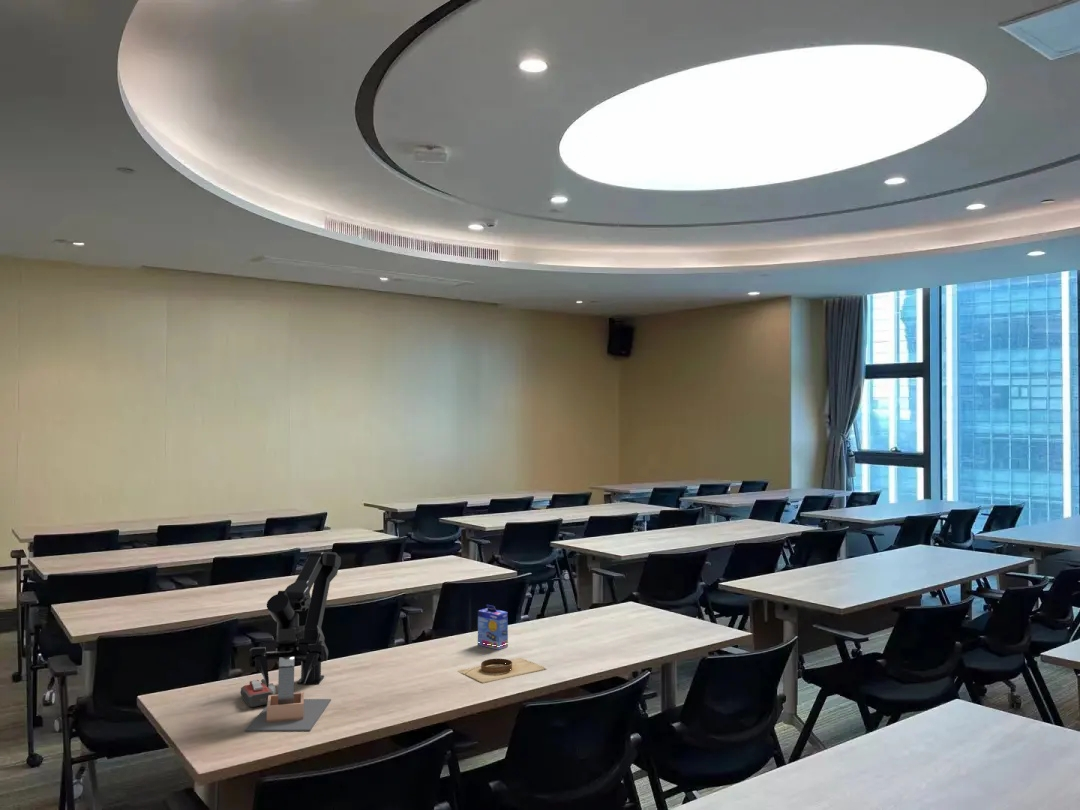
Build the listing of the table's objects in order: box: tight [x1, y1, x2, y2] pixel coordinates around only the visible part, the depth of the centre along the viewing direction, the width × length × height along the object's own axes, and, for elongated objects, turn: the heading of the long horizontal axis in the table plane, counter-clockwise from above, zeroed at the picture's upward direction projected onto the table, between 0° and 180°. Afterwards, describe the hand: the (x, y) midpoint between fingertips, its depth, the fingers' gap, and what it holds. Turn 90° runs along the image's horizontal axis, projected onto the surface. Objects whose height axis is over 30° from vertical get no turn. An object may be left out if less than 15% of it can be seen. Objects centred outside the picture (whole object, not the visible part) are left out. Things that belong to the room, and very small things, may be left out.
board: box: [457, 657, 547, 684], centre depth 242 cm, size 25×15×3 cm, turn 127°
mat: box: [244, 698, 332, 732], centre depth 202 cm, size 22×16×1 cm
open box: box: [266, 691, 305, 723], centre depth 201 cm, size 9×9×4 cm
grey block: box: [277, 656, 295, 705], centre depth 202 cm, size 3×4×14 cm
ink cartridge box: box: [477, 604, 509, 651], centre depth 270 cm, size 10×6×14 cm, turn 54°
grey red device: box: [240, 678, 277, 708], centre depth 216 cm, size 9×4×20 cm
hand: (285, 684), depth 200 cm, fingers open, 9 cm apart
